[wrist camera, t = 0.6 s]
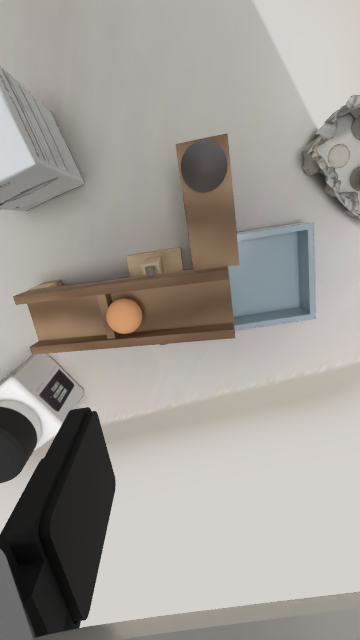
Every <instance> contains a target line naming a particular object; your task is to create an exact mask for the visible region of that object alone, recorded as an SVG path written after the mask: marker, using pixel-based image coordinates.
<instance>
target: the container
mask: <svg viewBox="0 0 360 640" xmlns="http://www.w3.org/2000/svg"><path fill="white" fill-rule="evenodd" d="M82 395H83V389H82V388H81V387H80V386H79V385H78V384H77V383H76V382H75V381H74V380H73V379H72V378H71V377H70V376H69V375H68V374H67V373H66V372H65V371H64V370H63V369H62V368H61V367H60V366H59V365H58V364H57V363H56V362H55V361H54V360H53V359H52V358H51V357H50V356H49V355H48V354H47V353H45V354H33V355H32V356H31V357H30V358H28V359H27V360H26V361H25V362H23V363H22V364H21V365H20V366H18V367H17V368H16V369H15V370H14V371H12V372H11V373H10V374H9V375H7V376H6V377H5V378H4V379H2V380H1V381H0V483H3V482H6V481H9V480H11V479H13V478H15V477H16V476H17V475H18V474H19V473H20V472H21V471H22V469H23V467H24V465H25V464H26V462H27V461H28V459H29V457H30V456H31V454H32V452H33V451H34V450H36V449H37V448H38V447H40V446H41V445H43V444H44V443H45V442H47V441H48V440H50V439H51V438H52V437H54V436H55V435H56V434H57V433H58V431H59V429H60V427H61V425H62V423H63V422H64V420H65V418H66V416H67V414H68V412H69V411H70V410H73V409H75V408H76V406H77V404H78V402H79V400H80V398H81V397H82Z"/></svg>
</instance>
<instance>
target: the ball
mask: <svg viewBox="0 0 360 640" xmlns="http://www.w3.org/2000/svg"><path fill="white" fill-rule="evenodd" d="M106 318H107V322H108V324H109V326H110V327H111V328H112V329H113V330H114V331H116V332H118V333H121V334H127V333H131V332H133V331H135V330H136V329H137V328H138V327H139V326H140V324H141V322H142V310H141V308H140V306H139V305H138V304H137V303H136V302H135V301H133V300H131V299H127V298H122V299H118V300H116V301H114V302H113V303H112V304H111V305H110V306H109V308H108V310H107V314H106Z"/></svg>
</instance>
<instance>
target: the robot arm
mask: <svg viewBox="0 0 360 640" xmlns="http://www.w3.org/2000/svg"><path fill="white" fill-rule="evenodd" d="M114 492H115V476H114V472H113V469H112V465H111V461H110V458H109V454H108V451H107V447H106V443H105V439H104V436H103V432H102V429H101V425H100V421H99V418H98V414H97V412H96V411H93V412H92V411H91V409H90V408H89V407H87V408H80V409H73V410H70V411H69V412H68V414H67V416H66V418H65V420H64V422H63V423H62V425H61V427H60V429H59V431H58V433H57V435H56V437H55V439H54V440H53V443H52V444H51V446H50V448H49V450H48V452H47V454H46V456H45V458H43V459H42V460H41V461H40V462H39V464H38V466H37V468H36V469H35V471H34V473H33V475H32V477H31V479H30V481H29V482H28V484H27V486H26V488H25V490H24V492H23V493H22V495H21V497H20V499H19V501H18V503H17V505H16V506H15V508H14V510H13V512H12V514H11V516H10V518H9V519H8V521H7V523H6V525H5V527H4V529H3V530H2V532H1V534H0V640H360V592H355V593H346V594H337V595H329V596H320V597H313V598H304V599H295V600H287V601H278V602H270V603H262V604H254V605H247V606H238V607H231V608H222V609H215V610H206V611H198V612H190V613H182V614H174V615H166V616H158V617H151V618H144V619H137V620H130V621H124V622H117V623H110V624H103V625H97V626H89V627H83V628H79V626H80V622H81V621H82V620H86V619H87V617H88V614H89V611H90V606H91V601H92V596H93V592H94V587H95V582H96V578H97V573H98V568H99V563H100V559H101V554H102V549H103V544H104V540H105V535H106V530H107V525H108V521H109V516H110V511H111V506H112V502H113V497H114Z"/></svg>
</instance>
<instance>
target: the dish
mask: <svg viewBox="0 0 360 640" xmlns="http://www.w3.org/2000/svg"><path fill="white" fill-rule="evenodd" d="M237 242H238V253H239V264H240V265H236V266H228V269H229V279H230V288H231V298H232V307H233V317H234V326H235V331H236V330H243V329H249V328H256V327H263V326H269V325H276V324H283V323H289V322H296V321H303V320H309V319H316V306H315V259H314V223H312V222H300V223H294V224H288V225H282V226H275V227H269V228H263V229H257V230H250V231H244V232H238V233H237Z"/></svg>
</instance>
